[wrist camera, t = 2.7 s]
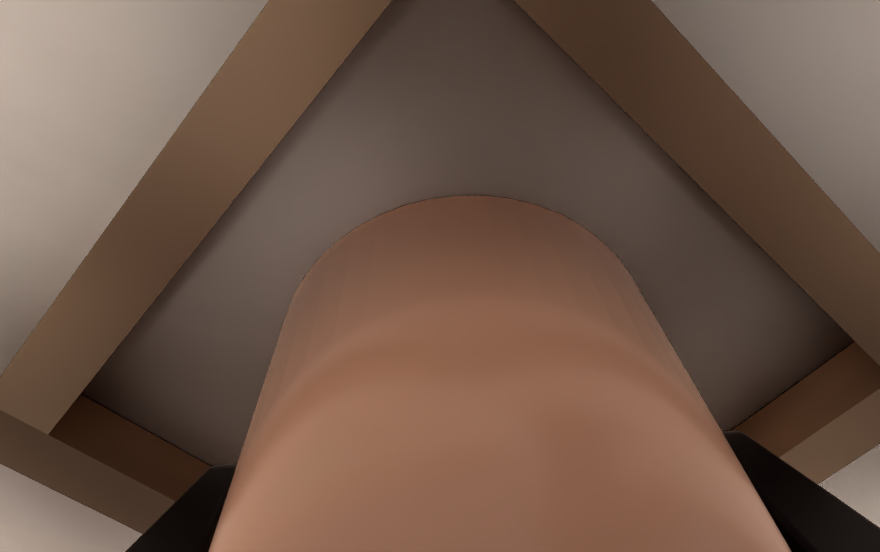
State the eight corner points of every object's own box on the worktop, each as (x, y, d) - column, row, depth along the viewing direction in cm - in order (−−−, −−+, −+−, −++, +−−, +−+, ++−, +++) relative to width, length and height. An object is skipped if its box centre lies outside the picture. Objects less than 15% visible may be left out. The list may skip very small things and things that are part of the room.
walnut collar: (435, -218, 7) (437, -237, 6) (941, 336, 11) (987, 372, 10) (-9, 398, 11) (-45, 441, 10) (480, 655, 15) (484, 702, 14)
